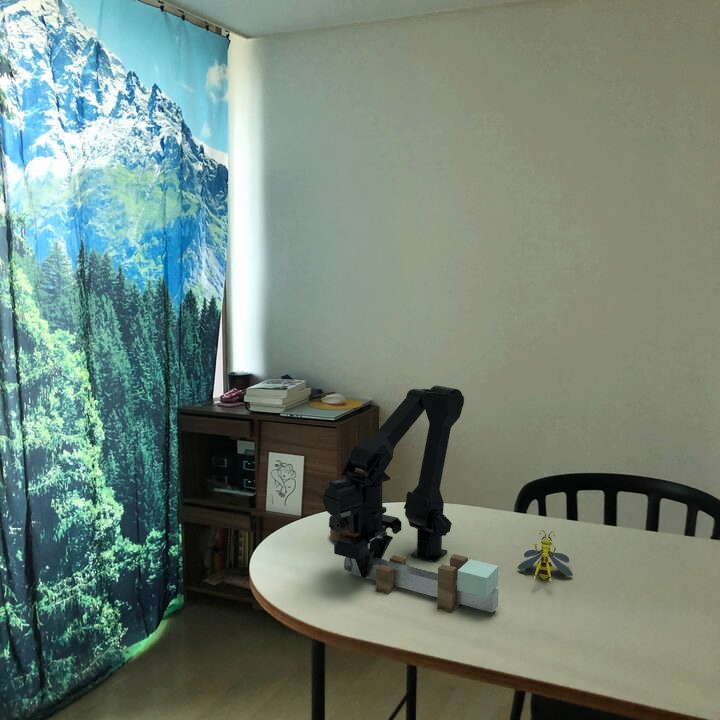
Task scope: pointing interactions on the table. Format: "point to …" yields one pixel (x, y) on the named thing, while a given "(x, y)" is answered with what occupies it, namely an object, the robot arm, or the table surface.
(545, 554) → the toy
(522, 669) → the table surface
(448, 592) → the bearing
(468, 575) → the block
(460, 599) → the shaft
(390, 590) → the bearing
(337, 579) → the table surface
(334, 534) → the cup and saucer
